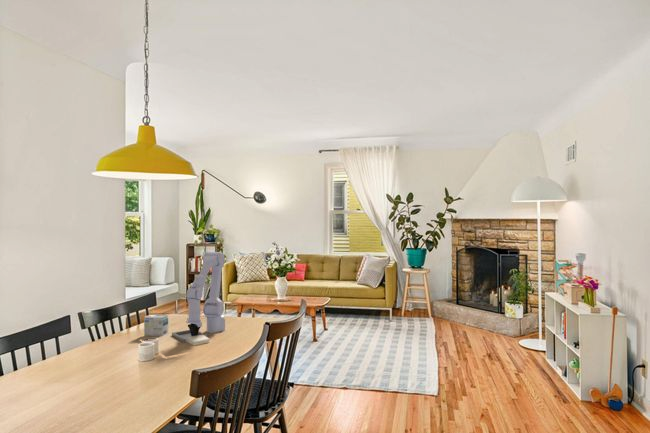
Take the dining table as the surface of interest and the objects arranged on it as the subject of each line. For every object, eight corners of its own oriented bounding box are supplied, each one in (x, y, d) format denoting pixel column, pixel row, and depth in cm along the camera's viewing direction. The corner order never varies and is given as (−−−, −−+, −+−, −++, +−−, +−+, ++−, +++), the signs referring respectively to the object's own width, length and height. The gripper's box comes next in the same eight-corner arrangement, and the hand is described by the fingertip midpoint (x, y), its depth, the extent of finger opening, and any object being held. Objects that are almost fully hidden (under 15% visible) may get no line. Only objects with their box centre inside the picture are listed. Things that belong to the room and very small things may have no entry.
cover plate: (202, 338, 223) (202, 334, 223) (209, 343, 216) (209, 338, 216) (187, 341, 218) (187, 337, 218) (193, 346, 211) (193, 341, 211)
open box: (193, 333, 237) (193, 328, 237) (207, 340, 224) (207, 335, 224) (171, 337, 229) (171, 332, 229) (184, 344, 216) (184, 339, 216)
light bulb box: (168, 334, 236) (168, 314, 236) (163, 337, 229) (163, 317, 229) (150, 333, 237) (149, 314, 237) (143, 337, 230) (143, 316, 230)
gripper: (181, 310, 224) (181, 336, 224) (192, 315, 213) (192, 343, 213) (194, 308, 229) (194, 334, 229) (206, 313, 217) (206, 340, 217)
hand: (194, 338), depth 221 cm, fingers closed
